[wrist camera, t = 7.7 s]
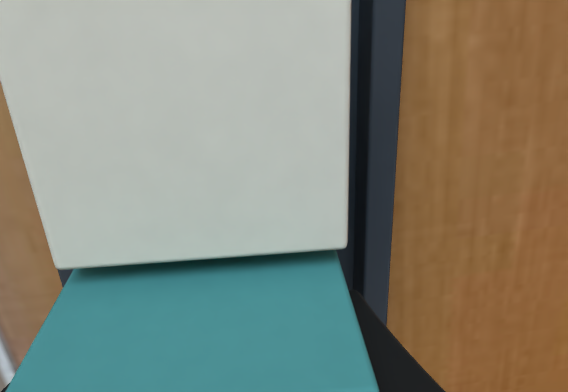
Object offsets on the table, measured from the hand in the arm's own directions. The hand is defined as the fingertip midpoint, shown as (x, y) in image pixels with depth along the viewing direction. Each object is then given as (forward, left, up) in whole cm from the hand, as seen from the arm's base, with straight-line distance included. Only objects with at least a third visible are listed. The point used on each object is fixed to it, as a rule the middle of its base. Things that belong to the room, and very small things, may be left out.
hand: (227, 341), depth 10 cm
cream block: (+5, +2, -3) cm, 6 cm away
